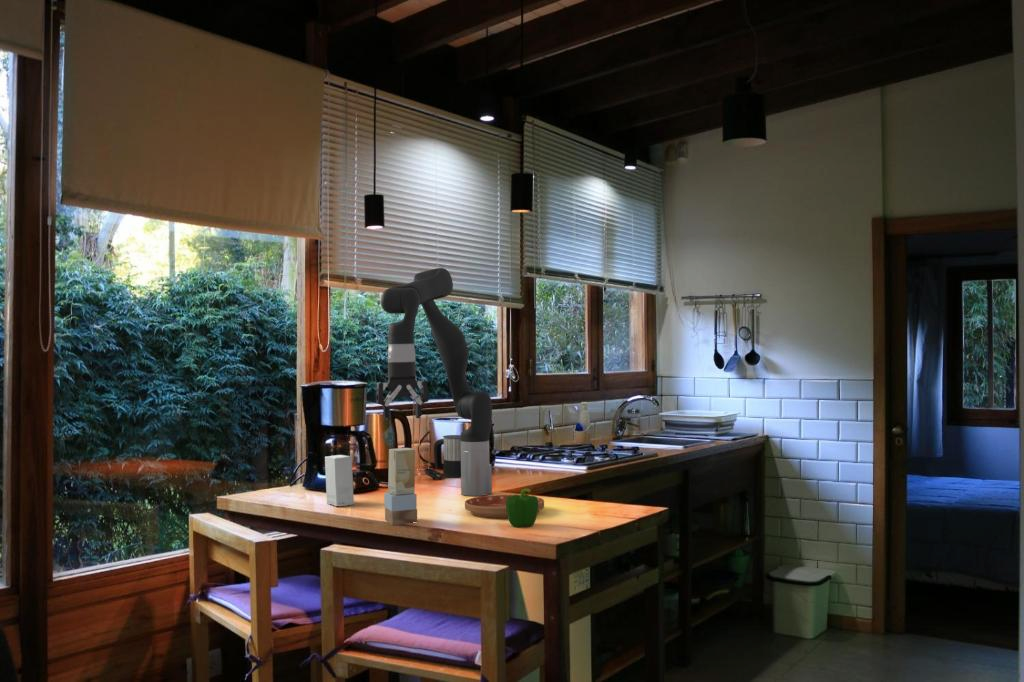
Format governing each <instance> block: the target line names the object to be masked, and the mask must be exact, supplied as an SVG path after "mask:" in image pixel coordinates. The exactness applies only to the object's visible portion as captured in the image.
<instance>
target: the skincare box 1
mask: <svg viewBox="0 0 1024 682" xmlns="http://www.w3.org/2000/svg"><path fill="white" fill-rule="evenodd" d="M324 466H325V490H326V491H325V493H326V504H327V503H329V504H328V505H330V504H332V505H331V506H333V505H335V506H334V507H336V506H339V507H348V505H350V506H354V505H355V501H354V497H355V496H354V480H353V479H354V478H353V460H352V456H351V455H345V454H335V455H328V456H324Z"/></svg>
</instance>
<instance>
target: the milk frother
mask: <svg viewBox="0 0 1024 682" xmlns="http://www.w3.org/2000/svg"><path fill="white" fill-rule="evenodd" d="M442 447H443V457H442ZM433 459H434V460H433V462H434V463H433V464H434V467H435V469H440V468H443V469H442V471H443V472H439V471H437V470H435V469H433V468H432V469H431V468H425V469H424V470H423V472H424V474H425V475H426V476H428V477H430V478H432V480H437V479H438V480H441V479H444V478H451V479H452V478H453V479H455V478H457V479H458V478H459V479H461V434H448V435H443V436H442V438H440V439H438V440H436V441H435V442H434V444H433ZM442 466H443V467H442Z"/></svg>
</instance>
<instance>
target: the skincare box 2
mask: <svg viewBox="0 0 1024 682" xmlns="http://www.w3.org/2000/svg"><path fill="white" fill-rule="evenodd" d="M415 478H416V449H415V448H411V447H402V448H401V447H399V448H389V449H388V484H387V486H388V487H387V492H388V493H390V494H394V495H402V494H411V493H414V494H416V493H415V491H416V487H415V486H416V485H415V481H416V480H415Z"/></svg>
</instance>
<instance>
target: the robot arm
mask: <svg viewBox="0 0 1024 682" xmlns="http://www.w3.org/2000/svg"><path fill="white" fill-rule="evenodd" d="M453 287H454V282H453V278H452V275H451V273H450V271H448V270H447V269H446V268H443V267H437V268H432V269H428V270H425V271H420V272H417V273H416V274H414V277H413V281H412V282H408V283H406V284H405V285H400V286H399V285H398V286H392V287H388V288H386V289H385V290H384V291H383V293H382V294H381V296H380V305H381V308H382V309H383V311H384V312H386V313H387V314H394V315H396V314H402V315H403V314H404V316H403V318H402V319H401V320H399V321H396V322H392V323H390V324H389V325H388V329H387V333H388V341H387V342H388V348H387V376H388V377H387V379H388V380H387V382H380V381H379V382H377V383H376V392H375V393H376V395H375V403H376V404H377V405H380V406H382V408H383V409H382V410H383V413H382V414H383V415H382V416H383V418H384V419H385V420H386V421H390V420H391V406H390V404H391V403H392V401H394V400H395V398H403V397H405V398H409V397H410V398H411V399H412V400H413V401H414V403H415V404H414V407H415V409H414V412H415V413H414V415H415V419H421V416H422V415H423V404H425V403H428V402H429V390H428V381H427V380H424V379H423V380H420V381H417V378H416V376H417V375H416V359H417V357H416V350H415V338H414V337H415V332H414V331H415V326H416V325H415V324H416V319H417V315H418V311H419V307H420V306H421V307H422V309H423V312H424V314H425V317H426V319H427V322H428V324H429V326H430V329H431V332H432V335H433V336H432V337H433V339H434V342H435V346H436V348H437V351H438V354H439V357H440V359H441V362H442V365H443V368H444V371H445V372H444V373H445V375H446V377H447V381H448V384H449V388H450V392H451V393H450V394H451V397H452V402H453V406H454V408H455V411H456V413H457V415H458V417H460V418H462V419H465V420H470V424H469V425H470V426H469V427H468V428H467V429H465V430H462V431H461V432H460V435H461V478H460V494H461V495H462V496H469V497H481V496H489V495H492V494H493V486H492V485H493V477H492V476H493V473H492V472H493V467H492V464H491V463H490V436H491V435H490V434H491V432H492V424H493V423H492V421H493V420H492V418H493V403H492V398H491V396H490V394H489V393H488V392H486V391H482V390H471V388H470V385H469V383H468V379H467V374H466V373H467V367H468V363H469V357H470V352H469V351H470V350H469V348H468V347H469V346H468V344H467V340H466V338H465V335H464V333H463V331H462V330H461V329H460V327H458V326H457V325H456V324H455V323H454V322H452V321H451V320H450V319H449V318H447V316H446V315H445V314H443V313H442V312H441V310H440V309H439V307H438V305H437V303H436V302H435V300H439V299H443V298H446V297H448V296H450V295H451V294H452V292H453ZM417 386H418V388H419V389H420V394H421V398H420V397H419V395H418V394H417V392H416V391H415V390H416V388H417ZM386 388H387V389H388V390H389V392H388V394H387V395H386V397H385V399H383V398H384V391H385V390H386Z"/></svg>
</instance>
